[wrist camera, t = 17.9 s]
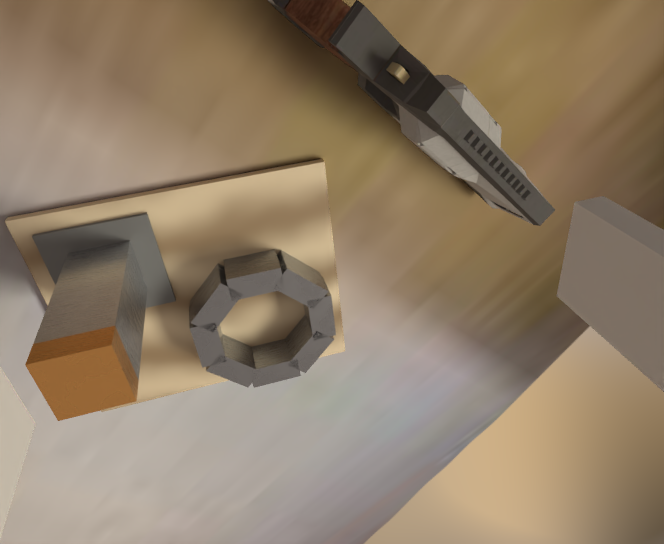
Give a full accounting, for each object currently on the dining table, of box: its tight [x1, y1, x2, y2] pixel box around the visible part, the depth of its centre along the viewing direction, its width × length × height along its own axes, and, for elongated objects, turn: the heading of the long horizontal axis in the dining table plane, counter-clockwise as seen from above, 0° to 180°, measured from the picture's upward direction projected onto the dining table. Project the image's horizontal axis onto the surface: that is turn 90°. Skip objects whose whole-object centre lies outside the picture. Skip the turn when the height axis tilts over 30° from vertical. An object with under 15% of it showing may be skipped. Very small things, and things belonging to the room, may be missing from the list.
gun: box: [268, 0, 555, 226], centre depth 40 cm, size 5×27×15 cm, turn 51°
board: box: [5, 159, 345, 412], centre depth 48 cm, size 22×26×1 cm
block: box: [26, 241, 148, 421], centre depth 38 cm, size 5×5×14 cm
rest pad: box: [32, 213, 176, 308], centre depth 44 cm, size 9×9×1 cm
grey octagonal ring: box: [189, 249, 336, 387], centre depth 49 cm, size 13×13×4 cm
